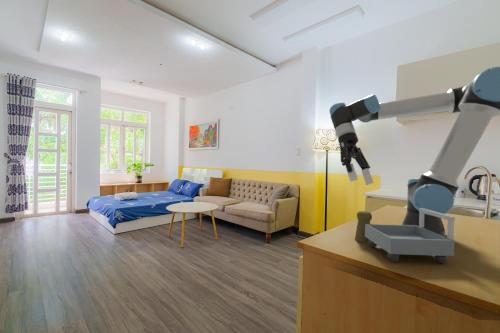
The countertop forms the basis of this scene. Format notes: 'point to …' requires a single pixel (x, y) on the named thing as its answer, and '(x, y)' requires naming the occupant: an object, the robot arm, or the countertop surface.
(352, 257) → the countertop surface
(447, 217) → the cart
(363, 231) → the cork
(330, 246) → the countertop surface
